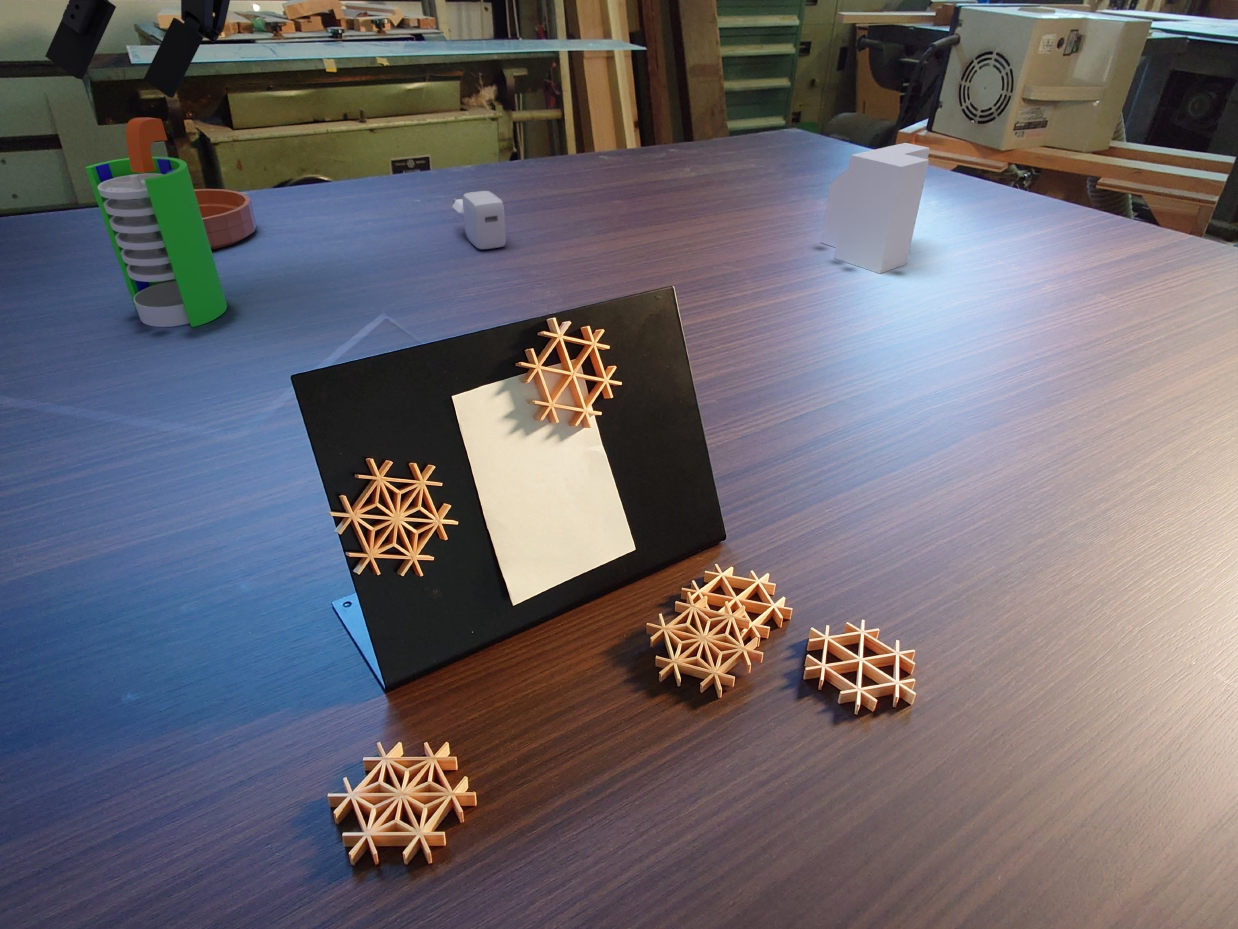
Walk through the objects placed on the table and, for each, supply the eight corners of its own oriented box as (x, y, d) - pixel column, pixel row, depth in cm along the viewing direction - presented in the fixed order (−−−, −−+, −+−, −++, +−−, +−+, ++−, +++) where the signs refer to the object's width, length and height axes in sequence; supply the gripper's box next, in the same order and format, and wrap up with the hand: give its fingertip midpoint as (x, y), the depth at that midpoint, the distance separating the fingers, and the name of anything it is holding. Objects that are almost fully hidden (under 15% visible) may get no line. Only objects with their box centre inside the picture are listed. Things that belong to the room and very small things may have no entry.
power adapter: (448, 227, 106) (443, 181, 103) (484, 222, 108) (480, 177, 105) (474, 253, 98) (470, 204, 94) (512, 247, 99) (509, 199, 96)
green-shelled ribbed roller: (114, 321, 80) (44, 127, 70) (170, 291, 86) (114, 110, 76) (195, 331, 78) (135, 134, 68) (245, 300, 84) (198, 116, 74)
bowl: (106, 245, 98) (95, 212, 96) (199, 214, 109) (190, 183, 107) (194, 262, 94) (184, 228, 91) (281, 228, 105) (274, 197, 102)
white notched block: (879, 273, 94) (901, 166, 87) (803, 247, 101) (818, 147, 94) (931, 254, 100) (955, 153, 93) (855, 231, 107) (873, 135, 100)
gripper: (186, -189, 55) (59, 89, 60) (322, -74, 78) (221, 118, 84) (84, -269, 53) (-36, 23, 59) (253, -127, 77) (156, 71, 83)
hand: (115, 79), depth 71 cm, fingers open, 13 cm apart
